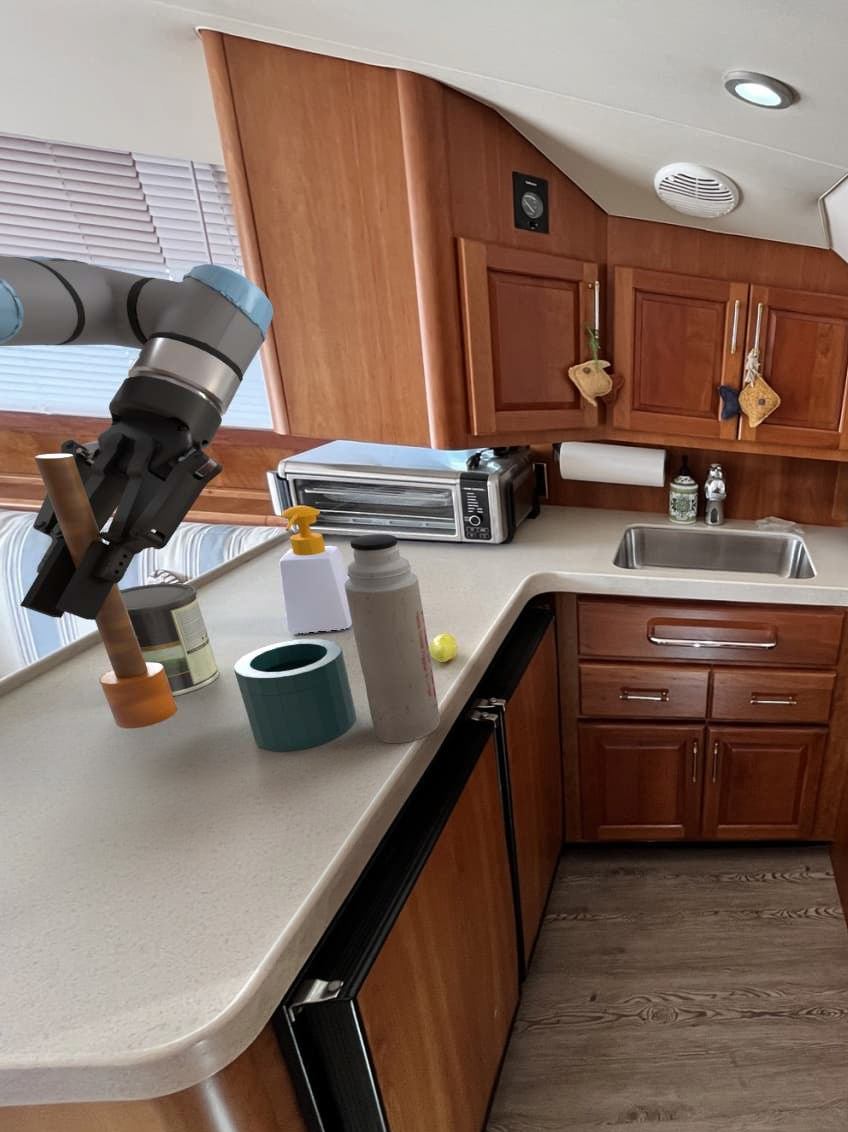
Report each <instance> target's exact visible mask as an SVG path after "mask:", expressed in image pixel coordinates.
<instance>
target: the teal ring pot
mask: <svg viewBox="0 0 848 1132" xmlns="http://www.w3.org/2000/svg"><path fill="white" fill-rule="evenodd" d="M347 670H348V669H347V666H346V661H345V656H344V652H343V648H342V646H341V645H340V644H339V643H338V642H336V641H333V640H329V639H324V638H323V639H322V638H301V639H292V640H286V641H281V642H277V643H272V644H269V645H266V646H263V647H260V648H256V649H254V650H252V651H251V652H249V653H247V654H245V655H243V656H242V657H240V658H239V659H238V660H237V661H236V662H235V664H234V667H233V671H234V675H235V678H236V680H237V684H238V689H239V692H240V695H241V698H242V701H243V705H244V709H245V712H246V715H247V719H248V723H249V726H250V729H251V732H252V736H253V738H254V741H255V744H256V745H257V746H258V747H259V748H261V749H262V750H266V751H270V752H294V751H301V750H306V749H310V748H314V747H317V746H320V745H323V744H326V743H328V742H332V741H333V740H335V739H337V738H339V737H341V736H342V735H344V734H345V733H347V732H348V731H349V730H351V728H352V727H353V726H354V724H355V723H356V720H357V715H356V708H355V703H354V699H353V693H352V690H351V689H352V688H351V684H350V680H349V676H348V671H347Z"/></svg>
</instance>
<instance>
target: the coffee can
mask: <svg viewBox="0 0 848 1132" xmlns="http://www.w3.org/2000/svg"><path fill="white" fill-rule="evenodd" d="M120 591H121V594H122V597H123V600H124V603H125V606H126V609H127V612H128V614H129V617H130V620H131V623H132V626H133V629H134V632H135V634H136V637H137V640H138V643H139V646H140V649H141V652H142V654H143V657H144V660H145V663H149V662H150V663H159V664H161V665H162V666H163V667H164V670H165V673H166V676H167V679H168V682H169V685H170V688H171V691H172V694H173V697H176V696H180V695H185V694H188V693H192V692H194V691H197V690H199V689H201V688H204V687H206V686H208V685H209V684H211V683H213V682H214V681H215V680H216V679H217V678H218V677H219V676H220V669H219V668H218V664H217V661H216V658H215V655H214V651H213V648H212V645H211V641H210V638H209V635H208V631H207V627H206V625H205V624H206V623H205V621H204V618H203V617H204V616H203V614H202V611H201V607H200V603H199V600H198V597H197V589H196V587H194V586H192V585H190V584H186V583H168V582H167V583H165V582H163V583H151V584H144V585H138V586H133V587H127V588H123V589H120Z"/></svg>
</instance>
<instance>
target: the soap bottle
mask: <svg viewBox="0 0 848 1132" xmlns="http://www.w3.org/2000/svg"><path fill="white" fill-rule="evenodd" d="M280 515H281V517H283V518H287V520H288V521H287V522H288V523H287V526H286V527H285V531H286V532H289V531H290V529H291V527H292V526H297V529H298V532H299V533H296V534H292V535H291V536H290V537H289V540H290V541H289V542H290V545H291V548H289V549H288V550H287V551H285V553H284V554H283V556H282V557H281V558H280V559H279V563H278V567H279V574H280V583H281V591H282V598H283V605H284V606H283V607H284V612H285V614H284V615H285V621H286V622H285V623H286V629H287V631H289V633H290V634H295V635H301V633H303V634H310V633H309V632H314V633H319V632H318V631H326V632H332V631H331V630H337V631H342V630H341V629H344V630H347V629H346V628H348V629H350V628H351V626H352V620H351V616H350V611H349V606H348V601H347V596H346V591H345V582H346V581H347V580H348V579H350V578H349V576H348V574H347V573H348V570H347V568H346V564H345V561H344V557H343V555H342V552H341V550H340V549H339V547H337V546H335V545H325V542H324V538H323V534H322V533H320V532H312V531H311V526H310V525H312V524H315V523H316V522H317V517H316V516H318V515H321V511H320V509H317V508H315V507H312V506H307V505H294V506H292V507H288V508H287V509H285V510H284V511H282V512H281V514H280ZM349 627H350V628H349ZM298 633H300V634H298Z"/></svg>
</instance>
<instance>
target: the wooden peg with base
mask: <svg viewBox="0 0 848 1132" xmlns="http://www.w3.org/2000/svg"><path fill="white" fill-rule="evenodd" d="M34 460H35V464H36V466H37V469H38V472H39V474H40V476H41V479H42V483H43V485H44V487H45V491H46V494H47V493H48V496H49V498H50V501H51V504H52V506H53V509H54V512H55V514H56V517H57V520H58V522H59V525H60V528H61V531H62V533H63V536H64V539H65V541H66V544H67V547H68V549H69V552H70V555H71V557H72V560H73V563H74V565H75V568H76V570H77V568H78V566H79V564H80V562H81V561H82V559H83V557H84V555H85V553H86V552H87V550H88V548H89V546H90V544H91V543H92V541H101V542H103V543H104V539H102V538H100V537H98V535H97V533H98V532H100V533H101V531H99V528H98V526H97V523H96V520H95V517H94V514H93V511H92V508H91V506H90V503H89V500H88V497H87V494H86V491H85V488H84V486H83V483H82V480H81V477H80V474H79V471H78V468H77V465H76V463H75V460H74V457H73V455H70V454H62V453H46V454H39V455H35V456H34ZM118 583H119V582H118ZM118 583H114V585H113V586H112V588H111V590H110V592H109V594H108V596H107V598H106V600H105V602H104V604H103V605H102V607H101V609H100V611H99V613H98V615H97V617H96V619H95V620H94V622H95V625H96V627H97V630H98V632H99V635H100V638H101V640H102V643H103V646H104V649H105V651H106V653H107V656H108V659H109V662H110V664H111V667H112V669H111V670H109V671H107V672H105V673H103V674H102V675H101V676H100V678H99V683H100V686H101V688H102V691H103V694H104V696H105V699H106V702H107V704H108V707H109V709H110V713H111V714H112V717H113V720H114V722H115V725H116V726H117V727H118V728H121V729H129V730H130V729H139V728H146V727H150V726H153V725H156V724H160V723H163V722H164V721H166V720H169V718H172V717H173V716H174V715H176V713H177V712H178V706H177V703H176V701H175V696H173V694H172V691H171V688H170V685H169V682H168V679H167V676H166V673H165V670H164V667H163V666H162V665H161V664H159V663H150V662H149V663H145V660H144V657H143V654H142V652H141V649H140V646H139V643H138V640H137V637H136V634H135V632H134V629H133V626H132V623H131V620H130V617H129V614H128V612H127V609H126V606H125V603H124V600H123V597H122V594H121V591H120V590H121V589H120V586H119V584H118Z"/></svg>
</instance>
